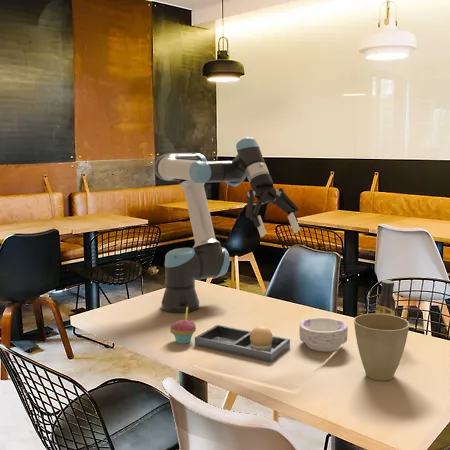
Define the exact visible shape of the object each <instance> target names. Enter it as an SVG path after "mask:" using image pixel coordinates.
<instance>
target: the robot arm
mask: <svg viewBox="0 0 450 450" xmlns="http://www.w3.org/2000/svg"><path fill="white" fill-rule="evenodd" d="M235 145H236V146H235V148H236V152H237V154H236V156H234V159H232V160H207V158H206V156H204V155H203V154H202V153H199V152H170V153H169V152H168V153H165V154H162V155H160V156H158V158H156V160H155V161H154V164H153V171H154V173H155V175H156V177H158V178H159V179H160V180H163V181H167V182H178V185H179V188H180V189H182V190H183V192H184V196H185V202H186V206H187V211H188V215H189V220H190V224H191V228H192V234H193V239H194V245H193V246H192V247H180V248H174V249H172V250H169V251H168V252H167V253H166V254H165V257H164V258H165V259H164V271H165V272H164V274H165V275H164V276H165V279H164V280H165V289H164V293H163V297H162V300H161V310H163V311H164V312H168V313H173V314H186V308H187V305H188V313H192V312H195V311H197V310H199V309H200V300H199V297H198V294H197V290H196V284H195V283H196V282H195V281H197V280H204V279H210V278H213V279H214V278H217V277H222V276H224V275H225V274H226V273H227V272H228V269H229V266H230V254H229V252H228V250H227V248H225V247H222V245H221V242H220V241H219V240H217V238H216V235H215V230H214V225H213V221H212V217H211V212H210V208H209V203H208V199H207V194H206V189H205V184H206V183H226V185H228V186H230V187H234V188H235V187H238V186H239V185H241V184H242V182H244V181H245V180H246V178H247V180H248V182H249V185H250V189H249V190H248V192H247V193H246V198H247V199H246V200H247V202H246V210H245V218H247V219H250V221H252V222H253V224H254V227H256V228H257V231H258V233H259V236H260V238H263V237H264V236H265V235H267V233H268V232H267V230H266V228H265V225H264V222H263V219H262V216H261V215H259V212H260V209H261V207H262V204H263V205H264V204H272V205H276V206H277V208H279V209H281V210H282V211H283V212H284V213H286V214H287V216H286V217H287V219H288V221H289V224H290V227H291V229H292V231H293V234H297V233H299V231H300V230H301V228H300V225H299V223H298V221H299V220H298V218H297V215H296V213H297V212H298V211H299V210H300V209H299V207H297V205H296V204H295V203H294V202H293V200H292V199H291V198H290V197H289V196H288V195H287V194H286V193H285V191H284V189H283V188H282V187H280V188H279V189H276V188H274V181H273V178H272V176H271V174H270V172H269V169H268V166H267V164H266V161H265V159H264V156H263V154H262V151H261V149H260V146H259V144H258V142H257V141H256V139H255V138H254V137H249V136H248V137H244V138H241V139H240V140H239V141H238V142H236V144H235ZM255 198H256V203H255V206H254V199H255ZM253 208H254V209H253Z"/></svg>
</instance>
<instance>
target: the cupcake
mask: <svg viewBox="0 0 450 450" xmlns="http://www.w3.org/2000/svg"><path fill="white" fill-rule="evenodd" d="M188 313H189V312H188V305H187V308H186V313H185V316H184V319H179V320H177V321H174V322H173V323H172V324H171V325H170V328H169V329H170V333H171V334H173V337H174V338H175V342H176V343H177V344H188V343H191V340H192V337H193V335H194V333H195V332H196V331H197V325H196V324H195V323H194V322H193V321H191V320H188Z"/></svg>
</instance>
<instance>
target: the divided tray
mask: <svg viewBox="0 0 450 450" xmlns="http://www.w3.org/2000/svg"><path fill="white" fill-rule="evenodd" d="M251 331H252V330H251ZM251 331H250V330H245V329H241V328H235V327H231V326H226V325H225V326H224V325H220V324H216V325H214V326H212V327H211V328H209V329H207V330H206V331H204V332H202V333H200V334H199V335H197V336H195V337H194V347H198V348H204V349H208V350H212V351H217V352H221V353H225V354H230V355H235V356H239V357H245V358H249V359H253V360H257V361H261V362H266V363H271V364H272V362H274V361H275V360H276V359H278V358H279V357H281V355H282V354H284V353H285V352H286V351H287V350H289V349H290V348H291V339H290V338H286V337H281V336H276V335H273V340H272V343H271V351H270V352H267V351H262V350H257V349H253V348H251V342H250V333H251Z"/></svg>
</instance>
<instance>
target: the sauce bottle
mask: <svg viewBox="0 0 450 450" xmlns="http://www.w3.org/2000/svg"><path fill="white" fill-rule="evenodd" d="M394 287H395V281H393V280H389V279H383V280H381V291H380V295H379V297H378V299H377V301H376V305H375V314H388V315H393V316H396V305H397V303H396V300H395V298H394Z"/></svg>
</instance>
